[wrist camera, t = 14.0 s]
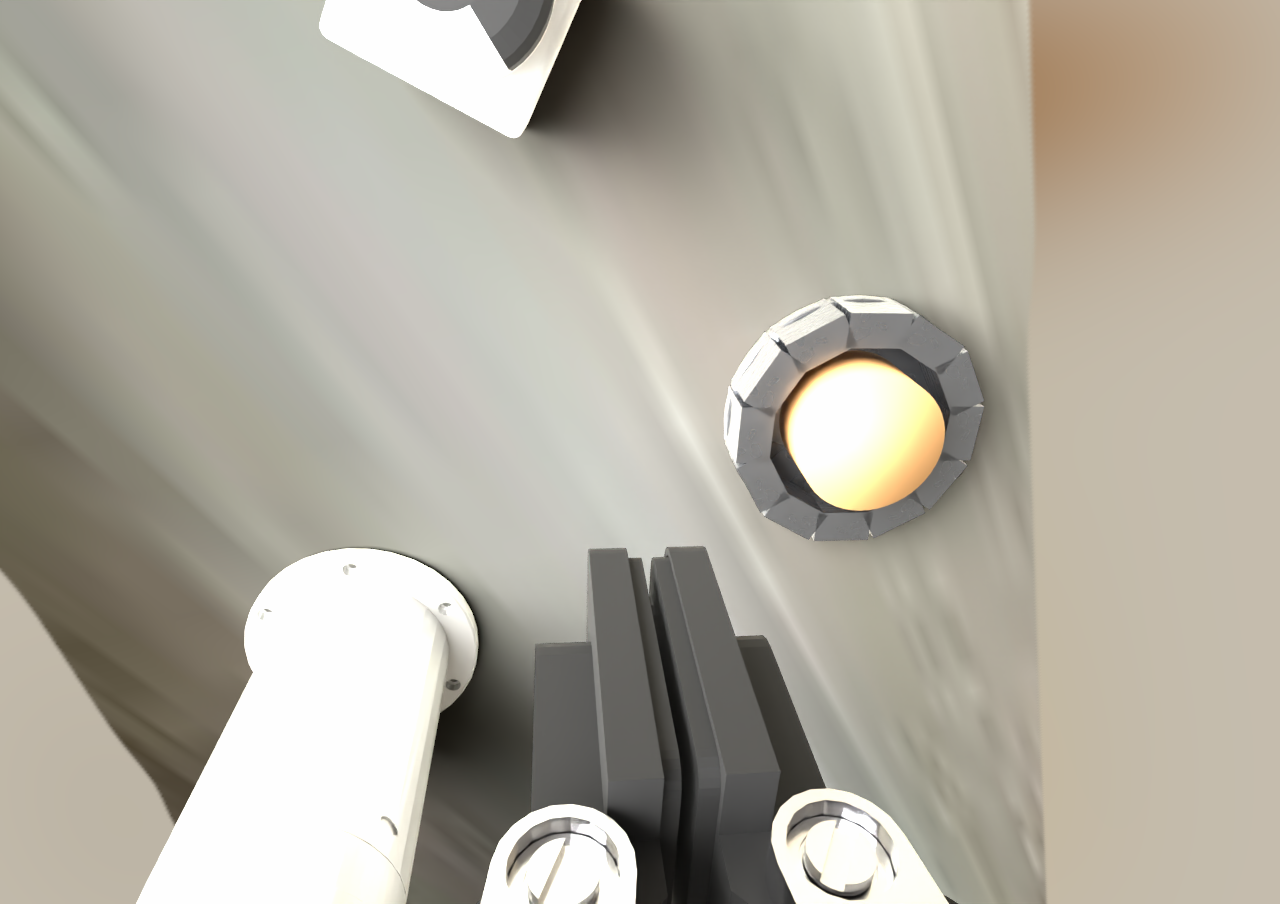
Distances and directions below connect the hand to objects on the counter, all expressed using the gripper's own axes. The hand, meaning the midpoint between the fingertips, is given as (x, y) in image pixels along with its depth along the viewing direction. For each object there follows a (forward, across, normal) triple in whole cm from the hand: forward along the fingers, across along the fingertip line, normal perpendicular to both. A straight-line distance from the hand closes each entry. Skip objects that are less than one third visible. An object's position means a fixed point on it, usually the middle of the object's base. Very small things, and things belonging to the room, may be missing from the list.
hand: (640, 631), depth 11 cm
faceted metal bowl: (+27, -14, +8) cm, 32 cm away
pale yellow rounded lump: (+26, -14, +8) cm, 31 cm away
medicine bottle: (+27, +4, -10) cm, 29 cm away
